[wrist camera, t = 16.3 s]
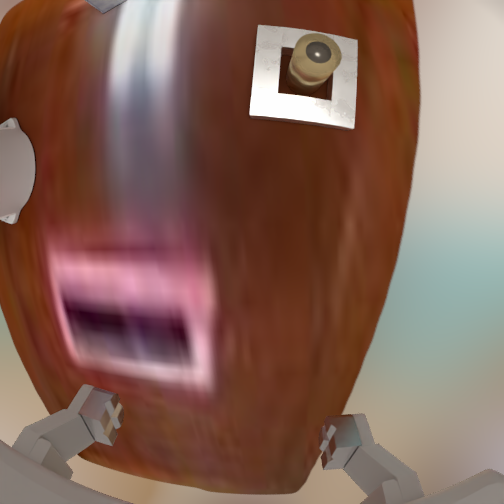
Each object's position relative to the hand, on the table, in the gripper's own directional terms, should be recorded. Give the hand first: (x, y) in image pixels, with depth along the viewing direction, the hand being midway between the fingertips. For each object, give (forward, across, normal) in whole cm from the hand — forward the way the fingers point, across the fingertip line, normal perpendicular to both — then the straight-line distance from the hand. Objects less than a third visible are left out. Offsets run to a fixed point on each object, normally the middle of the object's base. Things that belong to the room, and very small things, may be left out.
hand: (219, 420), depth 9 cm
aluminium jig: (+29, -5, -20) cm, 35 cm away
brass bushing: (+29, -5, -20) cm, 35 cm away
